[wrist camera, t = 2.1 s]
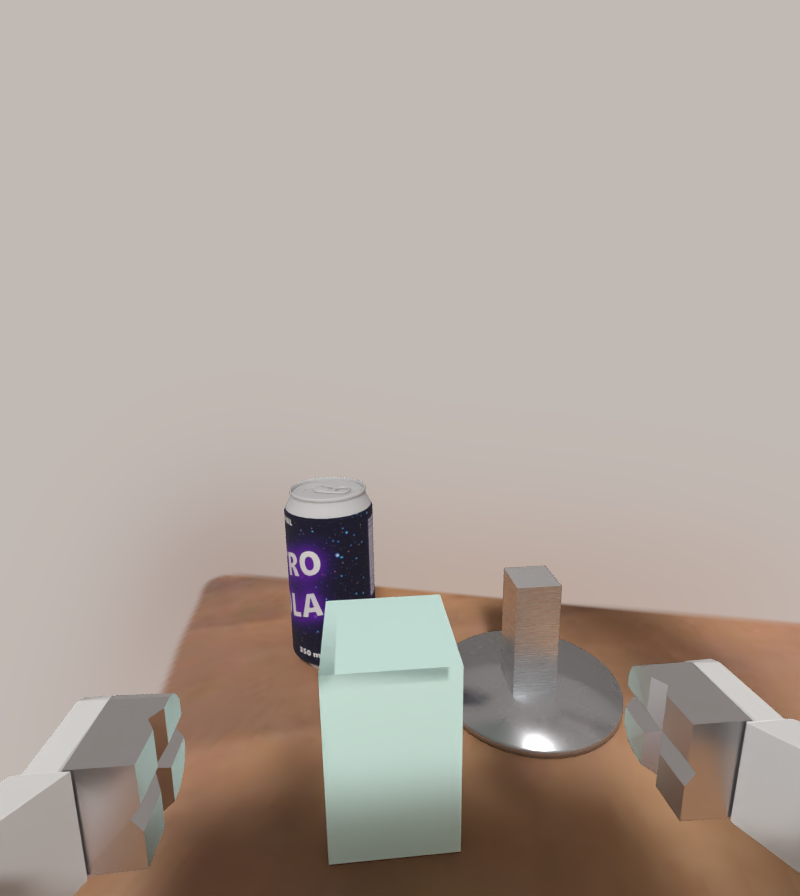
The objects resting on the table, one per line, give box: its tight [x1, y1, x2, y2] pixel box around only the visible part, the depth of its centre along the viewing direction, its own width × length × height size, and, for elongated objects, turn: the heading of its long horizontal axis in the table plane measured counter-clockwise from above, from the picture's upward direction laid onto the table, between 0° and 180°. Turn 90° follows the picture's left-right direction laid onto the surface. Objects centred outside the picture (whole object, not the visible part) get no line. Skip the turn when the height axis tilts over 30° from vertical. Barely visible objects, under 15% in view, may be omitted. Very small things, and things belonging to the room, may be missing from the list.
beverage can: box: [284, 477, 375, 669], centre depth 35 cm, size 6×6×12 cm
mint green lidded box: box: [318, 595, 464, 865], centre depth 23 cm, size 6×6×9 cm
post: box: [457, 566, 623, 759], centre depth 31 cm, size 11×11×8 cm
